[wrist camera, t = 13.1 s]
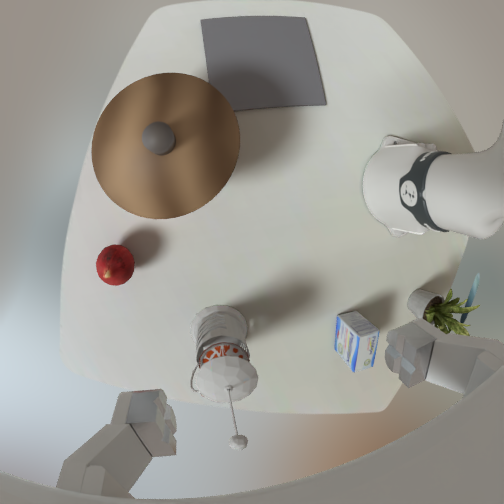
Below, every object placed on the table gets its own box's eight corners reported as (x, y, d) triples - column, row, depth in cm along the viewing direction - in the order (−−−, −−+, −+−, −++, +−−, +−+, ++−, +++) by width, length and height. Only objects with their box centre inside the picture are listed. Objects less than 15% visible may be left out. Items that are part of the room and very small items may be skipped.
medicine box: (336, 314, 50) (358, 336, 42) (356, 310, 51) (380, 330, 42) (333, 349, 52) (353, 373, 44) (353, 344, 53) (374, 367, 44)
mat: (303, 18, 36) (304, 17, 35) (324, 105, 41) (325, 104, 40) (200, 21, 33) (200, 19, 33) (214, 113, 38) (214, 113, 38)
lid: (227, 66, 28) (231, 47, 23) (249, 202, 32) (258, 205, 27) (89, 97, 26) (73, 84, 21) (108, 231, 30) (93, 240, 25)
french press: (259, 326, 48) (307, 435, 24) (215, 369, 48) (233, 484, 24) (215, 293, 45) (234, 402, 21) (172, 340, 45) (160, 458, 22)
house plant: (378, 333, 53) (425, 374, 38) (396, 270, 50) (453, 300, 35) (422, 328, 56) (467, 361, 40) (439, 273, 53) (491, 297, 38)
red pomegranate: (105, 238, 40) (86, 250, 32) (139, 241, 41) (126, 254, 33) (105, 274, 41) (88, 292, 33) (138, 277, 42) (127, 297, 34)
